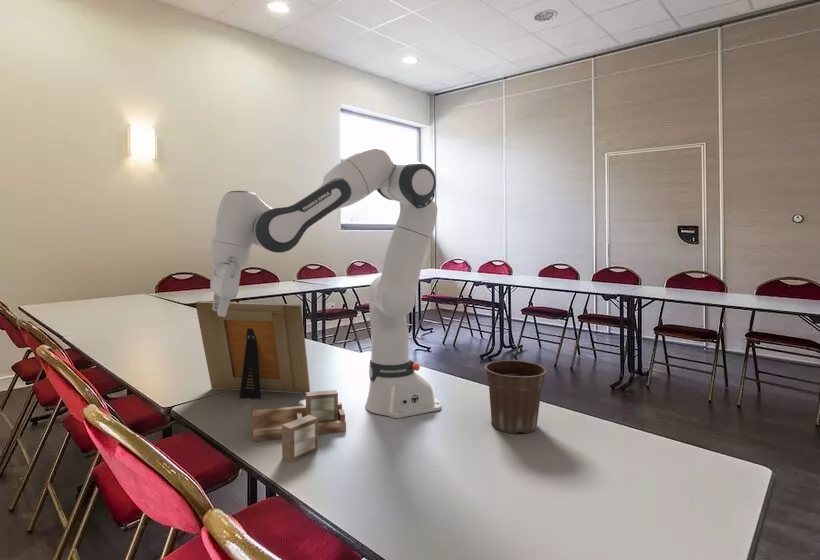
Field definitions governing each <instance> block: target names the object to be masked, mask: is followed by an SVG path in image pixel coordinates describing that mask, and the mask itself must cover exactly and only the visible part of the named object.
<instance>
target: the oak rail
mask: <svg viewBox="0 0 820 560" xmlns="http://www.w3.org/2000/svg"><path fill="white" fill-rule="evenodd" d="M252 413H253V416H252V417H253V421H252V422H253V423H252V425H253V429H252V431H253V434H252V435H253V437H252V438H253V439H252V441H253V442H259V441H260V442H261V441H269V440H280V439H281V440H282V425H284V424H286V423H289V422H291V421H294V420H297V419H299V418H302V417H305V416H306V406H300V405H299V406H298V405H297V406H285V407H277V408H274V407H273V408H264V409H254V410H253V411H252ZM342 432H347V421H346V414H345V411H344V409H343V404H342V402H339V401H338V421H329V422H320V423H318V435H323V434H324V435H325V434H333V433H342Z"/></svg>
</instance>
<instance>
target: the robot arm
mask: <svg viewBox="0 0 820 560" xmlns="http://www.w3.org/2000/svg"><path fill="white" fill-rule="evenodd" d="M436 185H437V180H436V174H435V171H434V170H433V169H432V168H431V166H430V165H427V164H426V163H423V162H419V161H409V160H408V161H407V160H406V161H404V160H403V161H399V162H396V161H395V162H393V161H392V158H391V157H390V155H389V154H388V153H387V152H386V151H385V150H384V149H383V148H380V147H378V146H377V147H376V146H373V147H369V148H366V149H363V150H361V151H358V152H356V153H353V154H352V155H351V156H348V157H346V158H345V159H344V160H341V162H339V163H337V164H336V165H334V167H332V168H331V169H330V170H329V171H328V172H327V173H326V174H325V175H324V177H323V181H322V183H321V185H320V186H319V187H318V188H317V189H316V190H314V191H313V192H311V193H309V194H308V195H307V196H304V197H303V198H302V199H300V200H299V201H297V202H295V203H294V204H291V205H289V206H284V207H275V208H272V207H270V206H269V205H267V204H266V203H265V202H264V201H263V200H262V199H261V198H260V197H259V195H257V194H256V193H255V192H253V191H247V190H231V191H228V192H226V193H225V194H224V195H222V198H221V201H220V203H219V207H218V210H217V214H216V219H215V233H214V235H213V237H212V240H211V245H210V251H209V255H208V256H209V257H208V261H211V262H212V264H211V272H210V273H211V274H210V283H209V284H210V286H209V287H210V290H211V291H212V292H213V298H212V299H213V300H212V302H213V308H212V309H213V310H214V311H218V312H217V314H218V315H219V316H222V317H225V316H226V313H227V309H228V306H229V304H230V302H231V300H237V297H238V292H239V287H240V280H241V274H242V273H241V271H242V267H246V268H247V267H248V264H249V259H250V252H251V249H252V248H251V247H252V245H254V246H258V247H259V248H262V249H263V250H266V251H270V252H272V253H279V254H280V253H281V254H282V253H285V252H289V251H291V250H292V249H293V248H294V247H296V246H297V245H298V243H299V242H300V240H301V239H302V237H303V236H304V234H305V233H306V231H307V230H308V229H309V228H310V227H312V226H313V225H314V224H315V223H317V222H318V221H320V220H322V219H323V218H324V217H327V215H329V214H331V213H332V212H333V211H336V210H338V209H341V208H346V207H349V206H351V205H354V204H356V203H358V202H360V201H361V200H363V199H365V198H366V197H368V196H369V195H371V194H372V193H373V192H375V191H377V192H378V194H379V195H380V196H381V197H383V198H385V199H386V200H390V201H395V202H399V203H398V204H399V209H400V210H399V216H398V218H397V220H396V223H395V226H394V228H393V231H392V234H391V237H390V240H389V243H388V244H387V245H388V246H387V249H386V252H385V257H384V258H385V259H384V263H383V264H384V265H383V268H382V273H381V275H379V276H378V277H375V279H374V280H372V282H371V283H370V286H369V288H368V304H369V305H368V307H369V321H370V333H371V338H370V340H371V341H370V342H371V344H370V345H371V346H370V347H371V349H370V351H371V355H370V358H371V359H370V360H369V367H368V370H369V371H368V375H369V376H368V377H369V380H370V381H369V387H368V389H369V390H368V395H367V399H366V403H365V407H364V408H365V410H366V411H369V412H370V413H373V414H376V415H382V416H387V417H391V418H393V419H394V418H395V419H400V418H406V417H410V416H417V415H421V414H426V413H427V414H428V413H431V412H437V411H438V412H439V411H440V410H441V409H442V404H441V401H440V399H438V397H436V396H434V390H433V388H432V386H431V384H430V383H429V382H428V381H427V380H426V379H424V377H422V376H421V375H420V374H418V373H417V372H418V371H420V369H421V366H420V364H418V363H417V362H415V361H413V360H411V359H409V358H410V357H409V355H410V354H409V352H410V350H409V349H410V347H409V346H410V332H409V329H408V328H409V327H408V321H407V315H409V314H410V313H411V312H412V311H413V310H414V307H415V304H416V295H417V294H416V293H417V291H418V286H419V281H420V275H421V270H422V266H423V263H424V259H425V256H426V253H427V251H428V248H429V246H430V245H429V244H430V242H431V239H432V236H433V233H434V230H435V226H436V221H437V215H438V205H437V203H435V201H434V198H435V191H436V187H437V186H436Z"/></svg>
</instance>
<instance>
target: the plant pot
mask: <svg viewBox="0 0 820 560" xmlns="http://www.w3.org/2000/svg"><path fill="white" fill-rule="evenodd" d="M484 370H485V371H486V381H487V383H488V392H489V393H488V394H489V403H490V404H489V405H490V406H489V407H490V419H491V420H490V421H491V423H490V424H491V425H493V427H494V428H495V429H496V430H499V431H501V432H504V433H510V434H518V433H523V434H528V433H532V432H533V431H535V430H536V429H537V426H538V420H539V412H540V411H539V410H540V404H541V403H540V402H541V394H542V387H543V386H544V380H545V375H546V374H547V369H546V367H545V366H543V365H541V364H538V363H534V362H530V361H524V360H512V359H510V360H508V359H506V360H496V361H490V362H488V363H486V364H485V365H484Z"/></svg>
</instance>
